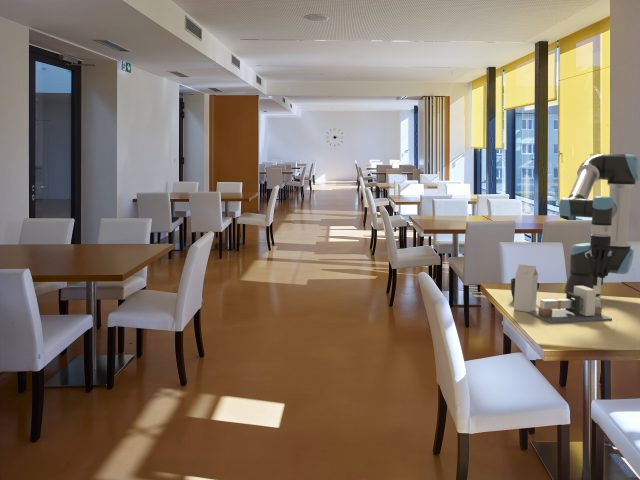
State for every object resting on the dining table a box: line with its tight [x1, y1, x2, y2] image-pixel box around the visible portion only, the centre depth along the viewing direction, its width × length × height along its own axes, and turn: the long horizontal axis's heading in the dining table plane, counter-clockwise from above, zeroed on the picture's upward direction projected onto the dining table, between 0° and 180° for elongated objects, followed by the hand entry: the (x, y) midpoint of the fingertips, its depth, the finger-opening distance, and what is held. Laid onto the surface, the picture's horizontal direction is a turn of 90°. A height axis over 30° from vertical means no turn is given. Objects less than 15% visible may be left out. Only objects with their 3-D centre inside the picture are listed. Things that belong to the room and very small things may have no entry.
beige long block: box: [538, 296, 603, 318], centre depth 275 cm, size 25×5×7 cm, turn 103°
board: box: [528, 309, 613, 324], centre depth 275 cm, size 27×16×1 cm, turn 103°
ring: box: [564, 292, 580, 314], centre depth 275 cm, size 2×7×7 cm, turn 13°
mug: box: [510, 277, 540, 302], centre depth 302 cm, size 8×12×10 cm
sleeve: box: [573, 286, 597, 316], centre depth 276 cm, size 4×9×10 cm, turn 13°
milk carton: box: [513, 263, 539, 313], centre depth 285 cm, size 7×7×19 cm
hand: (596, 293), depth 276 cm, fingers closed
